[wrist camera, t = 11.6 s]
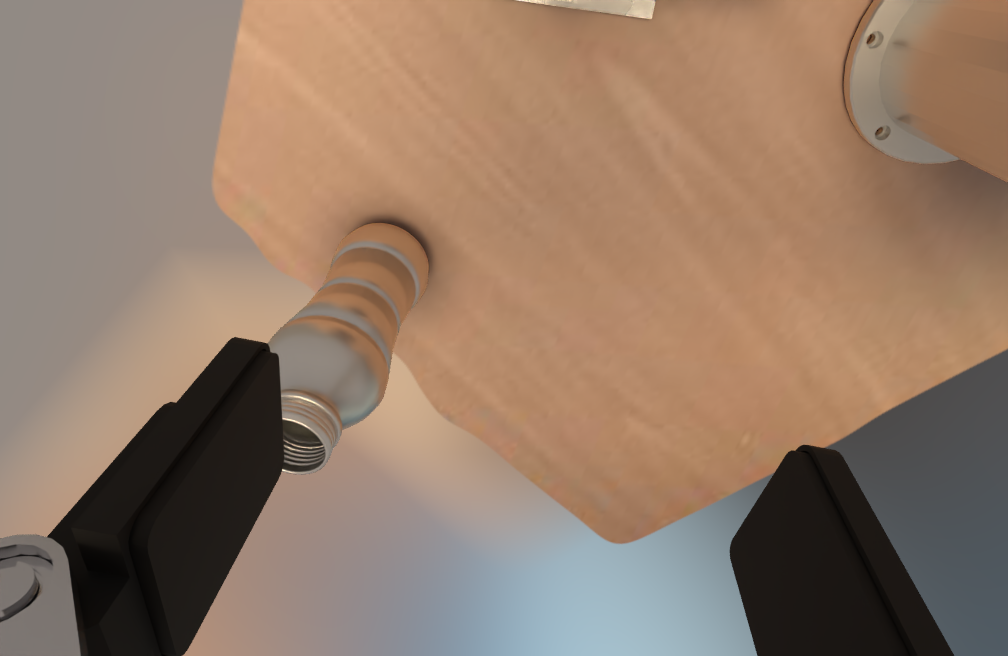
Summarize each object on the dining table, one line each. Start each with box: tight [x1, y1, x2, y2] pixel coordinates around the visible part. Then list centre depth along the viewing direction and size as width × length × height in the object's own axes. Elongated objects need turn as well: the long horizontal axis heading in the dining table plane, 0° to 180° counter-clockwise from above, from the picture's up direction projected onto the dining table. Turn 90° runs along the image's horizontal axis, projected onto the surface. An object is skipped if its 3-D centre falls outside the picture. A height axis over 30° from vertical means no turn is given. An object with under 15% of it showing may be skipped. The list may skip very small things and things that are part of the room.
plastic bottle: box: [267, 223, 429, 475], centre depth 35 cm, size 6×7×20 cm
